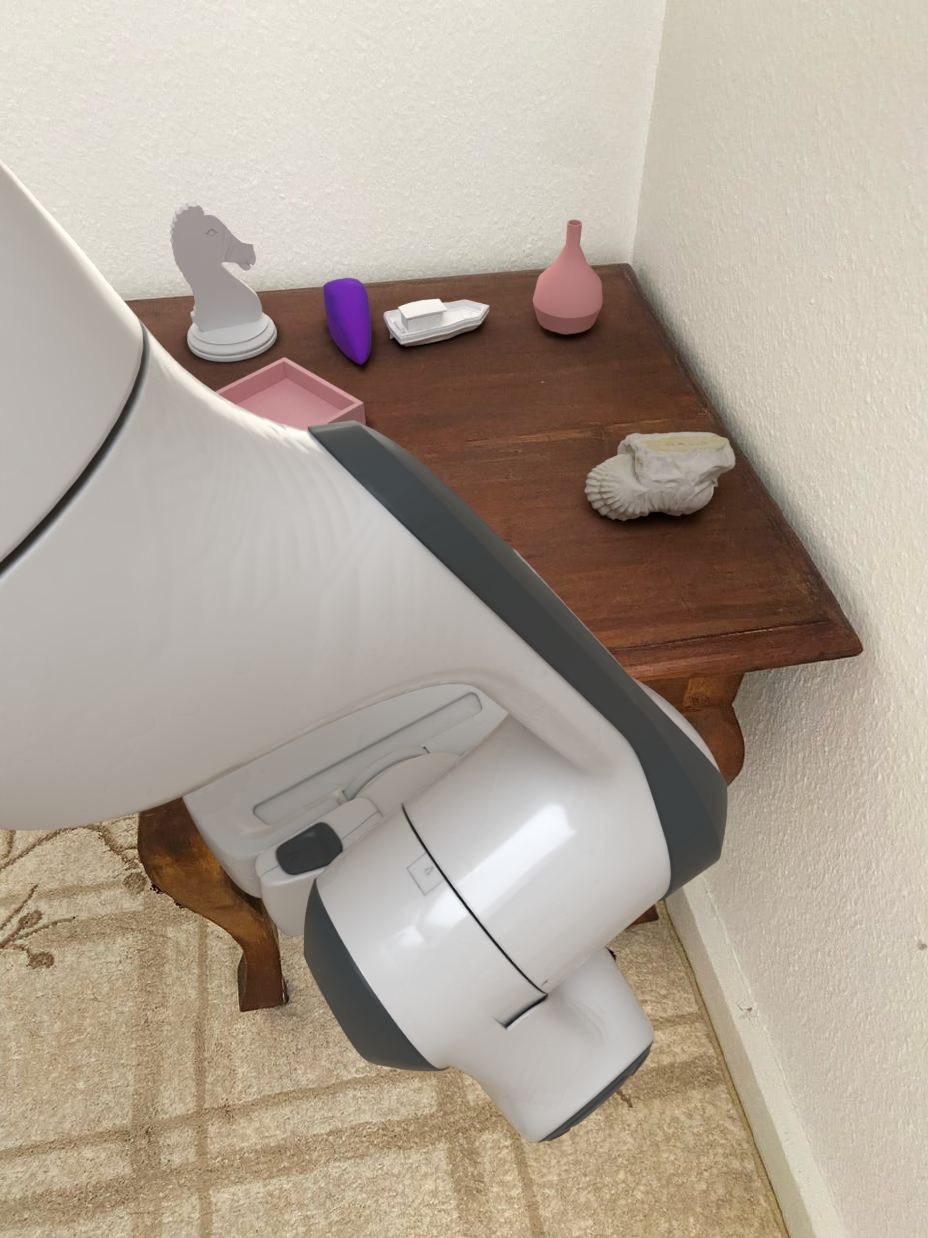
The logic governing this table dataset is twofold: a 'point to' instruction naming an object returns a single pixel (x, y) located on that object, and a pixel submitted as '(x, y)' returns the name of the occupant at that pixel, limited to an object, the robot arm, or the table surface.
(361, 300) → the purple rounded wedge
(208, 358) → the chess piece
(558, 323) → the pink vase
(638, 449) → the fossil replica
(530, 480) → the table surface
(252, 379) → the tray
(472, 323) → the white toy boat
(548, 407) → the table surface
